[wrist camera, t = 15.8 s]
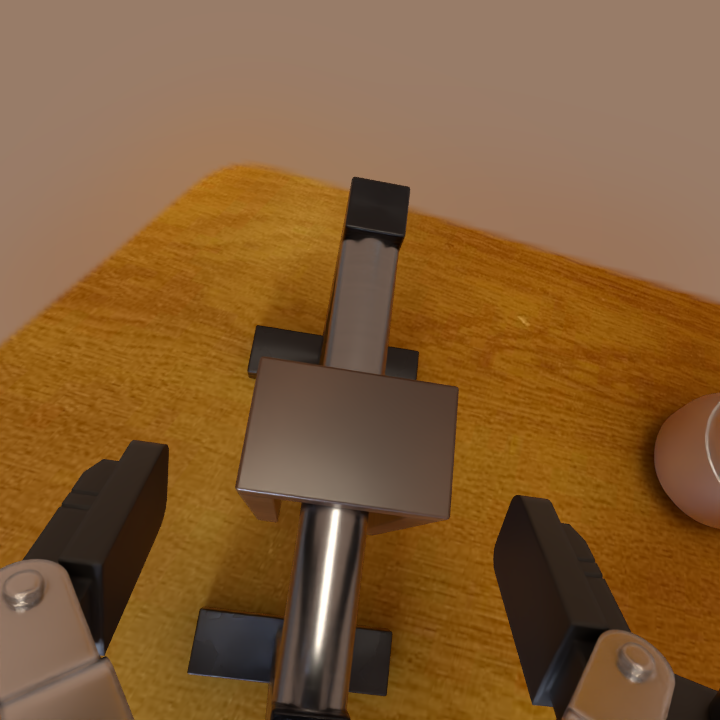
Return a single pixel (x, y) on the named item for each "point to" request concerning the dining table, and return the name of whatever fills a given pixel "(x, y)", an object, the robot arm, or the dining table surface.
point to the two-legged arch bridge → (349, 444)
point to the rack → (318, 522)
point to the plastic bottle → (692, 459)
